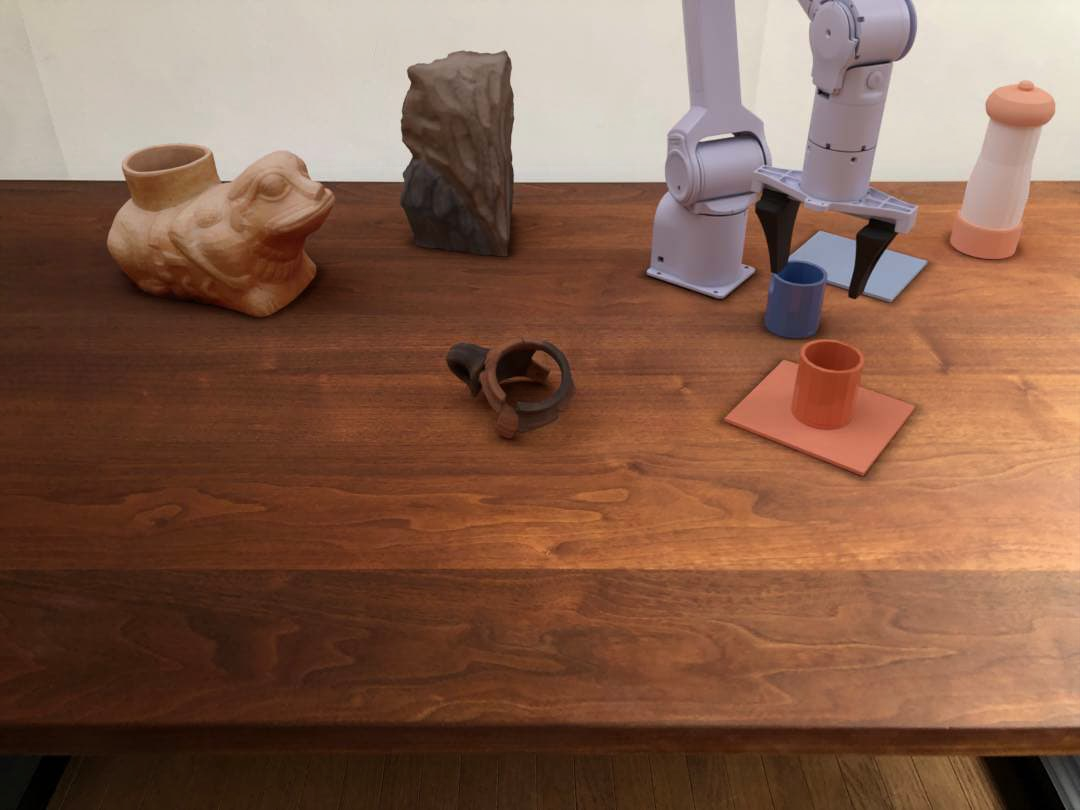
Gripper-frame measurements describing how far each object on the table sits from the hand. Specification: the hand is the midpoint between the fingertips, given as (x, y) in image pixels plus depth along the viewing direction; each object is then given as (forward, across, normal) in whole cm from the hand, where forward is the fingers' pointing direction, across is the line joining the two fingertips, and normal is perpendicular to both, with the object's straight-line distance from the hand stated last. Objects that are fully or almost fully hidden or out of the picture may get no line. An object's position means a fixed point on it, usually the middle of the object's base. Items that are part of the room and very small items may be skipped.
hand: (816, 281), depth 97 cm
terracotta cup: (+8, +5, -7) cm, 12 cm away
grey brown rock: (+9, -43, +2) cm, 44 cm away
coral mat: (+9, +5, -7) cm, 12 cm away
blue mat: (+9, -4, +22) cm, 24 cm away
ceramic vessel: (+9, -57, -22) cm, 62 cm away
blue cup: (+9, -4, +6) cm, 11 cm away
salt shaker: (+9, +6, +36) cm, 37 cm away
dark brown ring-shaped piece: (+9, -18, -23) cm, 30 cm away
